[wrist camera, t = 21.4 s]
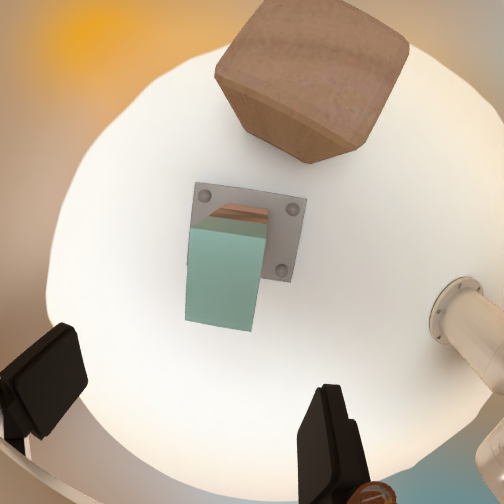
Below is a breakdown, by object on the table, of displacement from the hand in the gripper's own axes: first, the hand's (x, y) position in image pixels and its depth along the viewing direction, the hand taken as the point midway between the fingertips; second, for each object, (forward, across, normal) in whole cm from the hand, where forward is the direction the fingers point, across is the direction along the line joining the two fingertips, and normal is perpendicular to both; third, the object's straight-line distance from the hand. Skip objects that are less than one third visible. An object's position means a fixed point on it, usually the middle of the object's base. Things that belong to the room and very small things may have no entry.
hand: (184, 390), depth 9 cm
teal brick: (+16, +1, 0) cm, 16 cm away
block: (+28, -3, -16) cm, 33 cm away
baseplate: (+28, +1, 0) cm, 28 cm away
